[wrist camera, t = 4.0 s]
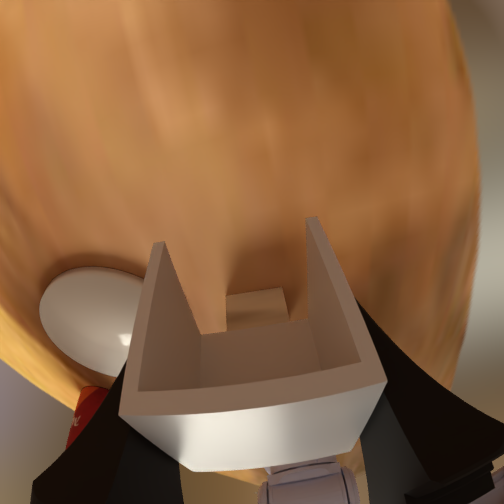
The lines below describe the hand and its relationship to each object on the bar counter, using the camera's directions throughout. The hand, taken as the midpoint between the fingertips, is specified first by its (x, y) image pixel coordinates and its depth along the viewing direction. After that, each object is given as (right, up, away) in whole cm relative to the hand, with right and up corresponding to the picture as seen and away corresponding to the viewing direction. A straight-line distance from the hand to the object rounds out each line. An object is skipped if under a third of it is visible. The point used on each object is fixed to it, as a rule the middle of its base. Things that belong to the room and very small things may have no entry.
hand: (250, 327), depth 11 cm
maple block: (0, -2, +13) cm, 13 cm away
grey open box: (0, +1, +2) cm, 2 cm away
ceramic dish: (-11, -4, +13) cm, 17 cm away
